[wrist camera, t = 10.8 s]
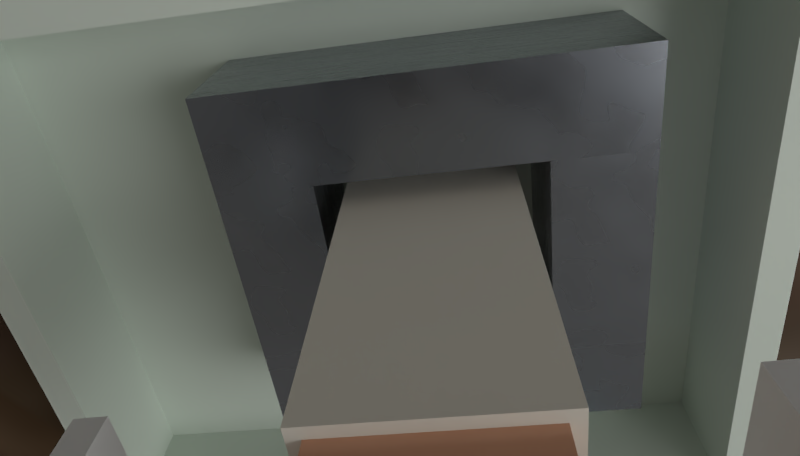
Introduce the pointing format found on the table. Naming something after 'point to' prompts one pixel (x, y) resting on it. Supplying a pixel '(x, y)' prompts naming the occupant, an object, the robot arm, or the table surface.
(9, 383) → the table surface
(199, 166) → the inlet box
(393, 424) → the block
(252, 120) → the socket
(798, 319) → the table surface
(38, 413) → the table surface
